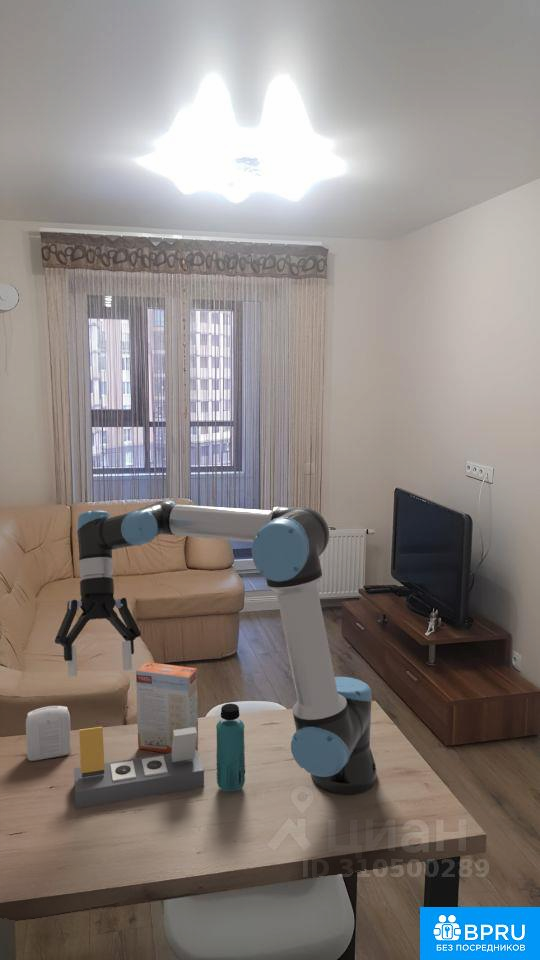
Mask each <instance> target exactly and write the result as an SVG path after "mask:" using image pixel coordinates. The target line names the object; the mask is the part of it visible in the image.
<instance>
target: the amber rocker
mask: <svg viewBox="0 0 540 960" xmlns="http://www.w3.org/2000/svg"><path fill="white" fill-rule="evenodd" d="M78 732H79V733H78V734H79V753H80V754H79V755H80V767H81V773H82V778H83V777H89V776H95V775H101V774H104V770H105V765H104V763H105V752H104V747H105V746H104V730H103V726H97V727H96V726H95V727H91V728H90V727H89V728H83V729H81V728H80V729H78Z"/></svg>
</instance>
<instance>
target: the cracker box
mask: <svg viewBox="0 0 540 960" xmlns="http://www.w3.org/2000/svg"><path fill="white" fill-rule="evenodd" d="M135 674H136V675H135V677H136V678H135V679H136V680H135V681H136V682H135V683H136V687H135V688H136V712H137V713H136V717H137V719H136V721H137V723H136V724H137V748H138V749H139V750H147V751H153V752H156V753H157V752H158V753H162V754H167V753H172V742H173V730H178V729H185V728H191V727H196V731H197V736H196V746H195V749H196V750H197V748H198V746H199V714H198V713H199V711H198V706H199V705H198V668H196V667H189V666H181V665H174V664H167V663H161V662H160V663H159V662H151V661H146V662H145V663H142V665H141V666H140V667H139V668H137V670H135Z"/></svg>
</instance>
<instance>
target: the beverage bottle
mask: <svg viewBox="0 0 540 960" xmlns="http://www.w3.org/2000/svg"><path fill="white" fill-rule="evenodd" d="M220 709H221V710H220V718H221V719H220V720H219V721H218V722H217V723H216V729H215V730H216V763H215V764H216V767H215V768H216V772H215V774H216V784H217V786H218V788H219V789H220V790H222V791H224V792H235V791H238V790H241V789H242V788H243V787H245V786H244V785H245V781H246V775H245V774H246V763H245V762H246V755H245V749H246V748H245V723H244V721H242V720H241V719H240V707H239V705H237V704H236V703H225V704H224V705H222V706H221V708H220Z"/></svg>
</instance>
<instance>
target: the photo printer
mask: <svg viewBox="0 0 540 960" xmlns="http://www.w3.org/2000/svg"><path fill="white" fill-rule="evenodd" d="M69 711H70V710H68V706H63V705H50V706H44V707H40V708H36V709H33V710H31V711H29V712H27V717H26V719H25V737H26V739H25V740H26V757H27V760H28V761H30V762H32V761H33V762H34V761H39V760H45V759H51V758H56V757H62V756H66V755H69V754H70V753H71V751H72V737H71V716H70V712H69Z"/></svg>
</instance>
